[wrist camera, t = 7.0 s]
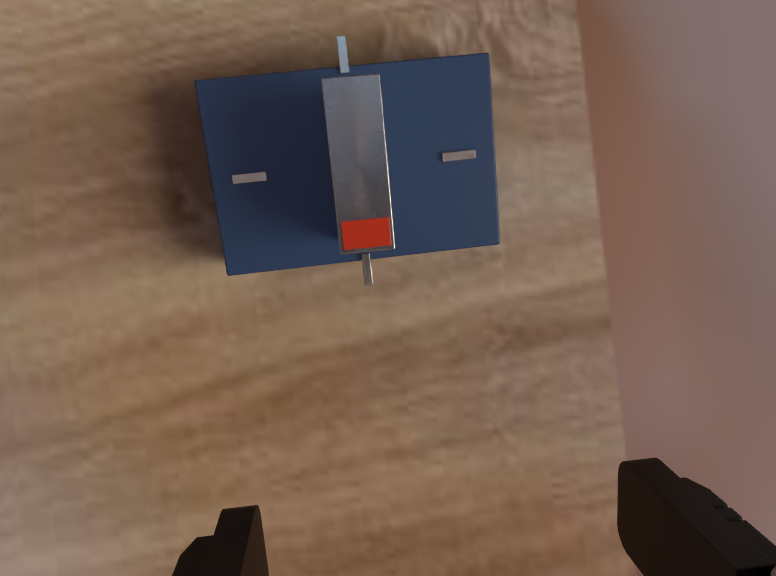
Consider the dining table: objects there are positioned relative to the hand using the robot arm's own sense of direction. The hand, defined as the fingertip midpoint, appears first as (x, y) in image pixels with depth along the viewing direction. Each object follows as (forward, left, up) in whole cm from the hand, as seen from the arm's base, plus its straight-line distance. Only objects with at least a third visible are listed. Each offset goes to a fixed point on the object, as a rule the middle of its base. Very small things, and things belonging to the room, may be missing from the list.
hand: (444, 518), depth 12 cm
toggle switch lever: (+1, -8, -13) cm, 15 cm away
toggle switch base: (+1, -8, -16) cm, 18 cm away
